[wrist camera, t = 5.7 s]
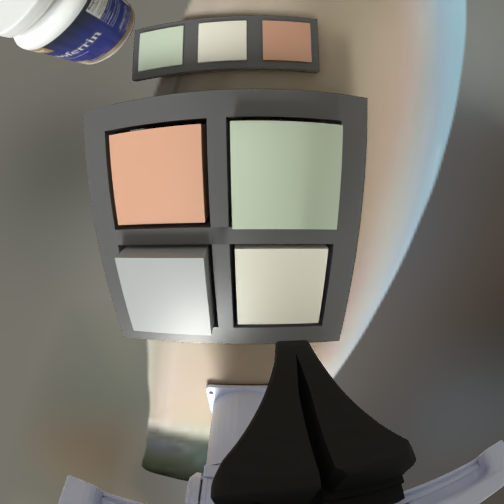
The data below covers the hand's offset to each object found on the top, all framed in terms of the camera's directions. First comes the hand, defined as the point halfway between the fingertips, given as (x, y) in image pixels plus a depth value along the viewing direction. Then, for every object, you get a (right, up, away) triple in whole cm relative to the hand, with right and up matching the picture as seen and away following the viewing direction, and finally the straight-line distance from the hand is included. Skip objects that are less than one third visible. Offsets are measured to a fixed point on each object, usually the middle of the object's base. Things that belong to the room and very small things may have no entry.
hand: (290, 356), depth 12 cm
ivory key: (0, +4, +8) cm, 9 cm away
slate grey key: (-7, +3, +7) cm, 10 cm away
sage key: (0, +9, +4) cm, 10 cm away
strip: (-4, +18, +2) cm, 18 cm away
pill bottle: (-13, +21, +1) cm, 24 cm away
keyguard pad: (-4, +7, +7) cm, 11 cm away
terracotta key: (-7, +10, +5) cm, 13 cm away
